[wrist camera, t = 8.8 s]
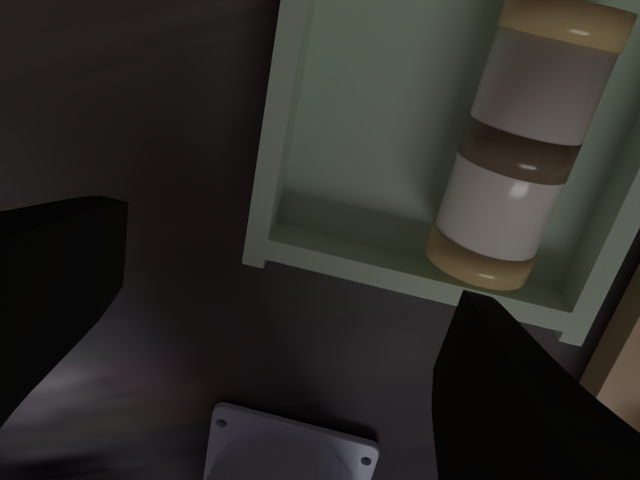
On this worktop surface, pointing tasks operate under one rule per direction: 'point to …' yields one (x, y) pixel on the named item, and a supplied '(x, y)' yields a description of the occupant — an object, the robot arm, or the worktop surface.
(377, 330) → the worktop surface
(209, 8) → the worktop surface
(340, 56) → the parts tray
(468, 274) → the fuse
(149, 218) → the worktop surface
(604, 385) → the fuse holder
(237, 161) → the worktop surface
